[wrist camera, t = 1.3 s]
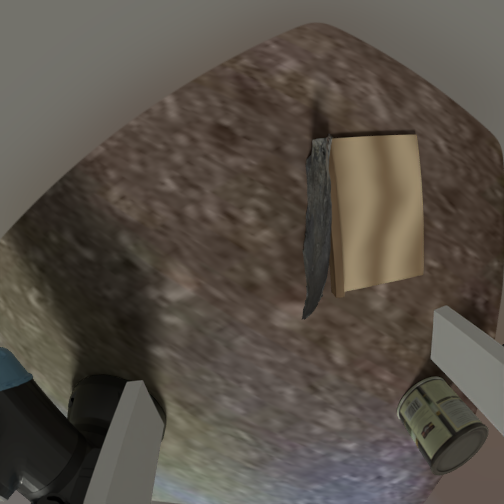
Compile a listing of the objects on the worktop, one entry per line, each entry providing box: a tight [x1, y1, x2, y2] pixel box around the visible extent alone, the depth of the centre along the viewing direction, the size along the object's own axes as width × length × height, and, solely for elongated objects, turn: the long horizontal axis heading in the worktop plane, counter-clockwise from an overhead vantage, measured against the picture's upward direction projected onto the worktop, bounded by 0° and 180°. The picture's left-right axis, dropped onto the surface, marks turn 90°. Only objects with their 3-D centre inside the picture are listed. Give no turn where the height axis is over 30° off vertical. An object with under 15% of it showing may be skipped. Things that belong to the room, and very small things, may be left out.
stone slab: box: [302, 134, 333, 319], centre depth 32 cm, size 18×2×10 cm, turn 179°
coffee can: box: [397, 377, 488, 475], centre depth 39 cm, size 10×10×14 cm
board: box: [329, 135, 424, 298], centre depth 36 cm, size 13×18×2 cm
